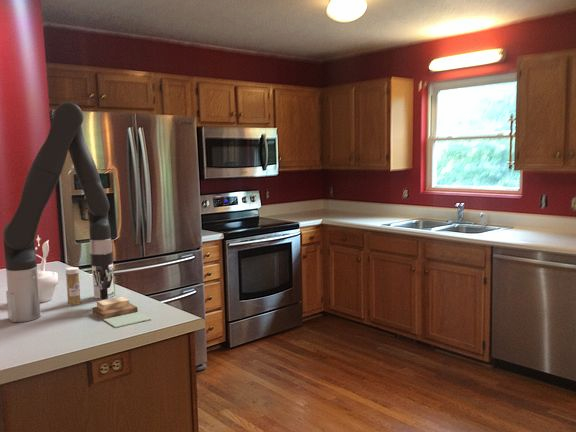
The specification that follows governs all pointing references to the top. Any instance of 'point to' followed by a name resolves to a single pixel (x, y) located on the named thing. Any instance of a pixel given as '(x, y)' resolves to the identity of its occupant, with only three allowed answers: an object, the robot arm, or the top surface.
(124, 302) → the maple tile
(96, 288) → the syrup box
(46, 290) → the potted plant
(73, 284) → the sprinkles bottle
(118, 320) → the rubber mat
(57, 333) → the top surface
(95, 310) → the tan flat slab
